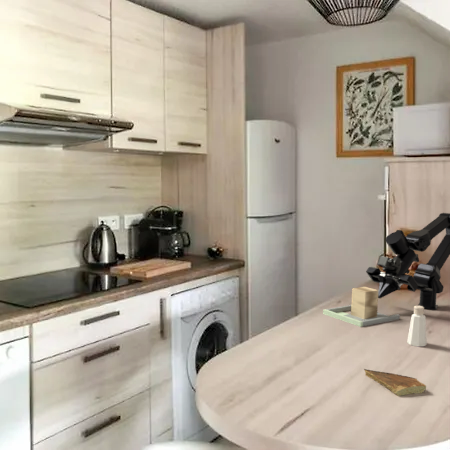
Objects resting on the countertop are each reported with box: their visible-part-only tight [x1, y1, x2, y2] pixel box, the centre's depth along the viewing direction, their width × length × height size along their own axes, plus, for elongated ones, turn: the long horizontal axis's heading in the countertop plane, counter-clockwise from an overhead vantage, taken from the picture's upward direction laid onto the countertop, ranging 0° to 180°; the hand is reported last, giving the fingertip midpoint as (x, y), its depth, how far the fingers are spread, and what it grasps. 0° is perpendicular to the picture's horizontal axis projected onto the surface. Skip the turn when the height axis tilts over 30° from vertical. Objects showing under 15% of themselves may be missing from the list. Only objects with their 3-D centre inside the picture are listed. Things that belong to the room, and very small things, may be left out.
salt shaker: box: [406, 305, 428, 347], centre depth 154 cm, size 5×5×11 cm
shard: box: [363, 368, 427, 397], centre depth 126 cm, size 13×9×2 cm
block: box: [350, 286, 379, 319], centre depth 178 cm, size 6×6×9 cm
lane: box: [322, 304, 401, 328], centre depth 178 cm, size 18×17×3 cm
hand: (378, 297), depth 182 cm, fingers closed
